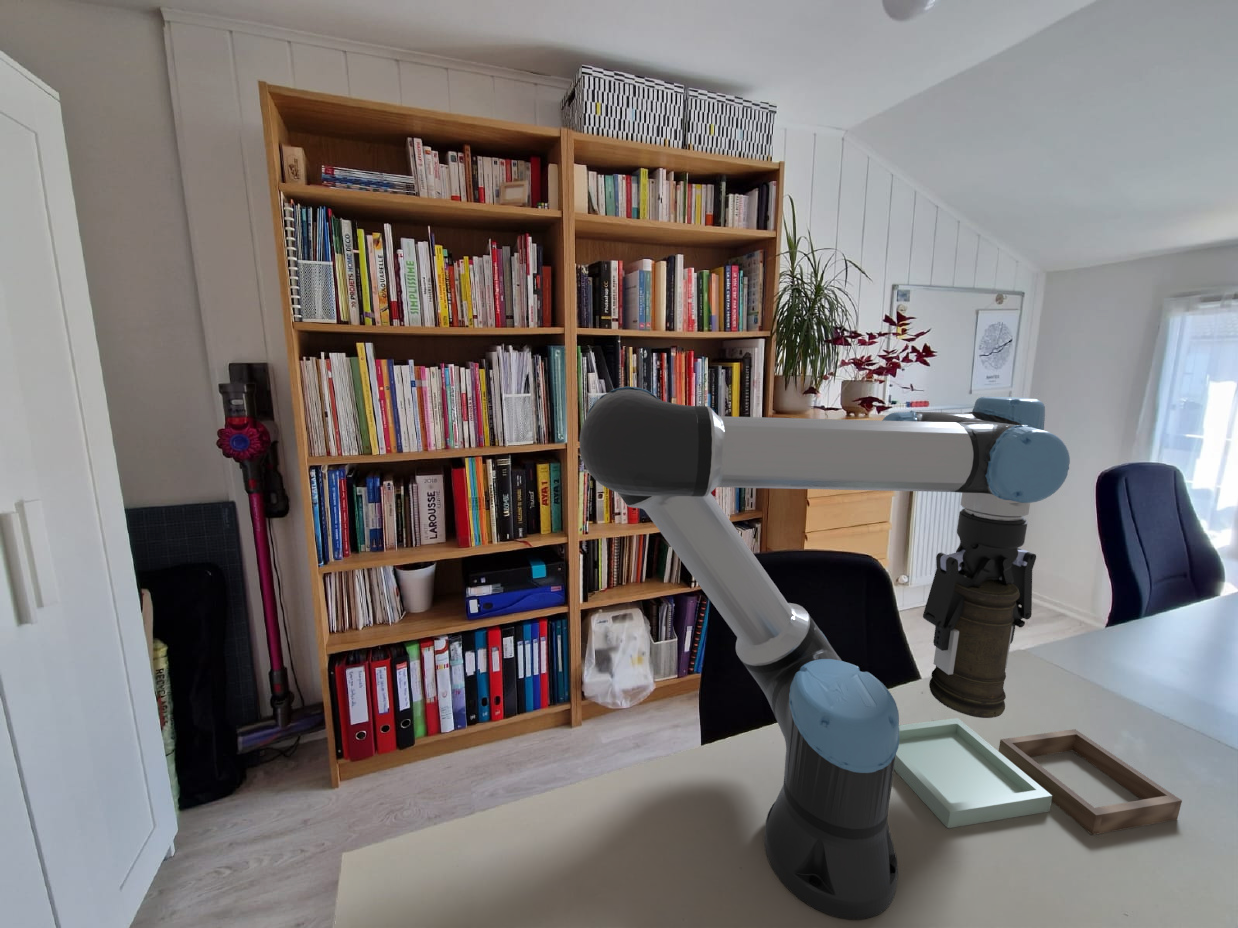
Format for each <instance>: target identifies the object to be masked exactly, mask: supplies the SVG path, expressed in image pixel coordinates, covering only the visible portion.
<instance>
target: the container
mask: <svg viewBox="0 0 1238 928" xmlns="http://www.w3.org/2000/svg"><path fill="white" fill-rule="evenodd" d="M965 576H966V577H967V578H969V579H973V578H972V577H970V576H968V575H967V574H966V573H965ZM954 591H955V592H957V593H959V594H961V595H964V596H965V597H966V600H964V603H965V604H964V605H965V607H964V611H963V613H962V614H961V616H960V618H959V620H958V622H957V624H956V626H955V627H954V628H955V629H956V630H958V631H959V637H958V644H957V650H956V657H955V664H954V670H953V674H950V675H948V674H947V673H945V672H944V671H943V670H941V669H940V668H938V667H937V666H936V665H935V668H934V669H932V672H931V678H930V680H929V683H928V684H929V685H928V687H929V691H930V694H931V695H932V696H933V698H935V700H937V701H938V702H939V703H941V705H944V706H945V707H946V708H949V709H951V710H953V711H954V712H957V713H960V714H963V715H966V716H970V717H974V718H978V719H979V718H980V719H992V718H998V717H1000V716H1001V715H1003V713H1004V712H1005V709H1006V702H1005V700H1006V698H1007V697H1006V691H1005V690H1004V686H1005V681H1006V678H1007V675H1006V674H1007V673H1006V668H1007V666H1006V659H1007V652H1008V646H1009V640H1010V634H1011V628H1012V623H1013V621H1014V619H1013V616H1012V615H1013V608H1014V606H1015V605H1016V600H1017V599H1018V598H1019V596H1020V593H1019V590H1018V588H1017V587H1016V586H1015V585H1014V584H1009V585H1007V586H1005V585H1003V584H1000V583H998V582H996V581H994V580H992V579H988V580H985V581H983V583H982V585H981V586H980V587H979V588H966V587H965V586H963V585H961V584H959V583H957V582H956V585H955V588H954ZM945 619H947V617H946V618H945ZM1005 667H1006V668H1005Z"/></svg>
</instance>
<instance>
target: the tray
mask: <svg viewBox="0 0 1238 928" xmlns="http://www.w3.org/2000/svg"><path fill="white" fill-rule="evenodd" d="M899 735H900V739H899V747H898V750H897V752H896V758H895V765H894V772H896V774H897V775H899V777H901V779H903V781H904V782H905V783H906V784H907V785H908V786H909V788H910V789H911V790H912V791H913V792H914V793H915V795H917V797H918V798H920V800H921V801H922V802H923V804H924V805H926V806H927V808H928V809H929V810H930V811H931V812H932V813H933V814H934V815H935V816H936V817H937V818H938V819H939V820H940V822H941V823H942V824H943V825H944V826H945V827H946V828H947V829H951V828H957V827H958V828H959V827H964V826H969V825H970V826H971V825H976V824H983V823H987V822H994V821H999V820H1007V819H1011V818H1017V817H1024V816H1029V815H1030V816H1031V815H1036V814H1041V813H1047V812H1050V810H1051V804H1052V801H1051V800H1052V795H1051V794H1050V793H1048V792H1047V791H1046V790H1045V789H1044V788H1042V787H1041V786H1040V785H1039V784H1038V783H1036V782H1035V781H1034V780H1033V779H1031V778H1030V777H1029V776H1028V775H1027V774H1025V773H1024V772H1023V771H1022V770H1020V769H1019V768H1018V767H1017V766H1016V765H1014V764H1013V763H1012V762H1011V761H1010V760H1008V759H1007V758H1006V757H1005V756H1003V755H1002V754H1001V753H1000V752H999V750H997V748H995V746H992V745H991V744H990V743H989V742H988V741H986V740H985V738H983V737H982V736H980V735H979V734H978V733H977V732H976V731H974V730H973V729H972V728H971V727H969V725H967V724H966V723H965V722H963V721H962V720H961V719H960V718H959V717H954V718H946V719H938V720H930V721H924V722H923V721H922V722H916V723H915V722H913V723H908V724H907V723H906V724H899Z"/></svg>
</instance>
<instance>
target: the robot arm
mask: <svg viewBox="0 0 1238 928" xmlns="http://www.w3.org/2000/svg"><path fill="white" fill-rule="evenodd" d="M1045 419H1046V406H1045V404H1044V402H1042V401H1041V400H1039V399H1037V398H1032V397H1018V396H1016V397H1015V396H1014V397H1012V396H980V397H978V398H977V399H976V400H975V403H974V406H973V408H972V410H971V411H969V412H944V411H943V412H942V411H941V412H939V411H938V412H937V411H915V410H909V411H902V412H901V411H899V412H896V411H895V412H892V413H889V414H887V415H886V416H884V418H883V419H882V420H878V419H877V420H876V419H875V420H873V419H871V420H870V419H840V418H838V419H835V418H803V417H802V418H800V417H799V418H798V417H796V418H795V417H761V416H724V415H723V416H722V415H718V414H717V413H716V412H715V411H714V410H713V408H711V407H710V406H707V405H706V406H705V405H687V404H686V405H685V404H679V403H673V402H670V401H669V402H668V401H664V400H661V399H660V398H659V397H657V396H656V395H655V394H654V393H652V392H650V391H649V390H648V389H644V388H641V387H637V386H622V387H617V388H614V389H611V390H610V391H609V392H607V393H604V394H602V395H601V396H600V397H599V398H598V399H597V400H596V401H594V402H593V404H592V405H591V406H590V407H589V410H588V411H587V414H586V417H585V419H584V420H583V423H582V426H581V428H580V433H579V453H580V456H581V459H582V462H583V465H584V466H585V468H586V470H587V472H588V473H589V475H590V476H592V478H593V479H594V480H595V481H597V483H598V484H599V485H601V486H603V487H605V488H607V489H608V490H610V491H612V492H615V493H617V495H619V497H620V498H621V499H622V500H623V502H624V504H625V505H626V506H627V507H629V508H634V509H642V510H643V511H645V513H646V515H647V516H648V517H649V518H650V520H651V521H652V522H653V525H655V527H656V528H657V529H658V531H659V532H660V534H661V535H662V537H664V539H665V540H666V542H667V543H668V544H669V546H670V548H671V549H672V550H673V551H674V553H675V554H676V555H677V557H678V558H679V559H680V561H681V562H682V564H683V565H684V566H685V568H686V569H687V571H688V572H689V573H690V574H691V576H692V577H693V580H695V581H696V583H697V584H698V585H699V587H700V588H701V590H702V591H703V592H704V593H705V595H706V597H707V598H708V599H709V600H710V602H711V603H712V604H713V606H714V607H715V608H716V610H717V611H718V613H719V614H720V615H721V617H722V618H723V620H724V621H725V622H726V624H727V625H728V627H729V628H730V630H731V631H732V632H733V633H734V635H735V636H736V642H735V652H736V655H737V656H738V659H739V660H740V661H741V662H742V664H743V665H744V667H745V668H746V669H747V671H748V672H749V674H750V675H751V676H752V678H753V679H754V680H755V681H756V683H757V684H758V686H759V688H760V689H761V690H762V692H763V693H764V695H765V697H766V699H767V701H768V704H769V705H770V708H771V710H772V713H773V715H774V717H775V721H776V722H777V724H778V726H779V728H780V731H781V734H782V736H783V737H784V742H785V759H784V772H783V785H782V786H781V789H780V791H779V793H778V795H777V797H776V799H775V801H774V803H773V804H772V805H771V806H770V809H769V811H768V812H767V815H766V820H765V825H764V840H763V842H764V850H765V854H766V857H767V860H768V862H769V864H770V866H771V869H772V870H773V872H774V873H775V875H776V877H778V879H779V881H780V882H781V883H782V884H783V885H784V886H785V887H786V888H787V890H789V892H791V894H793V895H794V896H796V897H797V898H798V899H799V900H800V901H802V902H803V903H804V904H806V905H808V906H810V907H812V908H813V909H815V910H817V911H819V912H821V913H824V914H827V915H829V916H832V917H835V918H840V919H845V920H864V919H865V920H866V919H869V918H872V917H876V916H878V915H879V914H881V913H882V912H884V911H886V910H887V908H888V907H889V906H890V905H891V904H892V902H893V899H894V898H895V894H896V889H897V883H898V873H899V870H898V868H899V866H898V859H897V855H896V850H895V847H894V843H893V839H892V835H891V834H892V833H891V832H890V828H889V824H888V816H889V809H890V808H889V807H890V800H891V793H892V785H893V780H894V772H895V770H894V765H895V758H896V752H897V750H898V747H899V739H900V735H899V725H900V715H899V709H898V705H897V702H896V699H894V697H893V695H892V693H891V691H890V690H889V689H888V688H887V687H886V685H884V683H883V682H882V681H880V680H879V679H878V678H877V677H875V675H873V674H872V673H870V672H869V671H861V670H860V667H859V666H858V665H855V664H853V663H850V662H846V661H843V660H842V659H841V657H840V656H839V655H838V654H837V652H836V651H835V649H834V648H833V646H832V645H831V644H830V642H829V640H828V639H827V636H825V634H824V633H823V631H822V630H821V629H820V628H819V627H818V625H817V624H816V622H815V621H814V619H813V617H811V616H810V614H809V613H808V611H807V610H806V609H805V608H804V607H803V606H802V605H800V604H797V603H791V602H788V601H787V600H786V598H785V596H784V595H783V594H782V593H781V592H780V590H779V588H778V587H777V585H776V583H774V581H773V580H772V579H771V577H770V575H769V574H768V572H767V571H766V570H765V569H764V567H763V566H762V564H761V563H760V561H759V560H758V558H757V557H756V556H755V554H754V553H753V551H752V550H751V549H750V547H749V546H748V544H747V543H746V541H745V540H744V538H743V537H742V535H741V534H740V533H739V531H738V530H737V528H736V527H735V525H734V524H733V523H732V521H731V520H730V519H729V517H728V516H727V513H725V512H724V511H725V510H724V509H723V508H722V507H721V506H720V504H719V503H718V501H717V500H716V499H715V497H714V496H713V494H712V492H713V491H714V490H715V489H716V488H736V489H737V488H739V489H740V488H741V489H742V488H745V489H746V488H747V489H787V490H788V489H789V490H790V489H791V490H792V489H793V490H795V489H796V490H835V491H837V490H839V491H840V490H841V491H842V490H843V491H846V490H847V491H880V492H881V491H883V492H885V491H887V492H889V491H890V492H891V491H892V492H933V493H934V492H935V493H937V492H939V493H941V492H943V493H961V498H960V506H961V507H962V508H963V509H961V510H959V512H958V513H959V514H958V521H957V527H956V534H957V536H958V538H959V541H960V542H959V545H958V547H957V549H956V551H955V552H953V553H949V554H945V553H944V552H939V553H937V554H936V557H935V558H936V559H935V563H936V567H935V568H936V570H935V573H934V577H933V580H932V583H931V587H930V590H929V594H928V597H927V600H926V604H925V607H924V610H923V614H922V618H923V619H924V620H926V621H927V622H928V623H930V624H931V625H933V626H934V627H935V628H934V634H933V635H934V636H933V642H932V643H933V645H934V647H935V650H934V658H933V663H932V664H933V665H934V666H935V667H936V666H937V667H938V668H940V669H941V670H943V671H944V672H945V673H947V674H948V675H950V674H953V670H954V664H955V657H956V650H957V644H958V637H959V631H958V630H956V629H955V628H954V627H955V626H956V624H957V622H958V620H959V618H960V616H961V614H962V613H963V611H964V607H965V605H964V604H965V603H964V600H966V597H965V596H964V595H961V594H959V593H957V592H955V591H954V588H955V585H956V582H957V583H959V584H961V585H963V586H965V587H966V588H979V587H980V586H981V585H982V583H983V581H985V580H988V579H992V580H994V581H996V582H998V583H1000V584H1003V585H1005V586H1007V585H1009V584H1014V585H1015V586H1016V587H1017V588H1018V590H1019V593H1020V596H1019V598H1018V599H1017V600H1016V605H1015V606H1014V608H1013V615H1012V616H1013V619H1014V621H1013V623H1012V628H1011V634H1010V640H1009V646H1008V652H1007V659H1006V667H1005V669H1007V665H1008V659H1009V654H1010V649H1011V648H1010V647H1011V644H1012V643H1013V641H1014V636H1015V631H1016V627H1017V628H1023V627H1024V626H1025V625H1026V621H1025V620H1030V619H1031V618H1032V612H1033V611H1032V610H1033V606H1032V605H1033V603H1032V602H1033V569H1034V566H1035V563H1036V559H1037V554H1036V553H1033V552H1031V551H1028V550H1025V549H1022V548H1021V547H1022V546H1023V545H1024V544H1025V540H1026V534H1027V530H1028V529H1027V528H1028V522H1029V521H1028V520H1027V519H1026V516H1028V515H1029V513H1030V506H1031V504H1032V503H1037V502H1040V501H1044V500H1045V499H1047V498H1049V497H1051V496H1052V495H1054V494H1055V493H1056V492H1057V491H1058V490H1059V489H1060V488H1061V487H1062V486H1063V485H1064V483H1065V481H1066V479H1067V476H1068V473H1069V470H1070V464H1071V458H1070V453H1069V450H1068V447H1067V445H1066V443H1064V441H1063V440H1062V439H1061V438H1060V437H1059V436H1057V435H1056V434H1054V433H1052V432H1050V431H1047V430H1045ZM965 573H966V574H967V575H968V576H970V577H972V578H973V579H969V578H967V577H966V576H965ZM946 617H947V619H945V618H946ZM1023 619H1024V620H1023Z"/></svg>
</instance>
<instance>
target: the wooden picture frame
mask: <svg viewBox="0 0 1238 928" xmlns="http://www.w3.org/2000/svg"><path fill="white" fill-rule="evenodd" d="M998 745H999V746H998V751H999V752H1000V753H1001V754H1002V755H1003V756H1005V757H1006V758H1007V759H1008V760H1010V761H1011V762H1012V763H1013V764H1014V765H1016V766H1017V767H1018V768H1019V769H1020V770H1022V771H1023V772H1024V773H1025V774H1027V775H1028V776H1029V777H1030V778H1031V779H1033V780H1034V781H1035V782H1036V783H1038V784H1039V785H1040V786H1041V787H1042V788H1044V789H1045V790H1046V791H1047V792H1048V793H1050V794H1051V795H1052V800H1051V803H1053V804H1054V805H1056V806H1057V807H1058V808H1059V809H1060V810H1061V811H1063V812H1064V813H1065V814H1066V815H1067V816H1069V817H1070V819H1072V820H1074V821H1075V822H1076V823H1077V824H1078V825H1080V826H1081V827H1082V828H1083V829H1084V830H1086V831H1087V832H1088V833H1089V834H1090V835H1092V836H1093V835H1098V834H1099V835H1100V834H1104V833H1109V832H1115V831H1120V830H1127V829H1131V828H1137V827H1143V826H1148V825H1154V824H1155V825H1156V824H1161V823H1166V822H1170V821H1176V820H1178V818H1179V814H1180V809H1181V806H1182V803H1183V800H1182V799H1181V798H1179V797H1178V796H1176V795H1175V794H1173V793H1172V792H1170V791H1169V790H1167V789H1165V788H1164V787H1162V786H1161V785H1160V784H1158V783H1157V782H1155V781H1154V780H1152V779H1151V778H1149V777H1148V776H1146V775H1145V774H1144V773H1142V772H1141V771H1138V770H1137V769H1135V768H1134V767H1133V766H1131V765H1129V764H1128V763H1126V762H1125V761H1123V759H1121V758H1119V757H1117V756H1116V755H1115V754H1113V753H1112V752H1110V751H1108V749H1106V748H1105V747H1103V746H1101V745H1100V744H1098V743H1097V742H1096V741H1094V740H1092V739H1091V738H1089V737H1087V735H1084V734H1083V733H1082V732H1080V731H1079V730H1077V729H1076V728H1075V729H1074V728H1073V729H1066V730H1060V731H1059V730H1058V731H1053V732H1052V731H1051V732H1044V733H1038V734H1030V735H1021V736H1014V737H1007V738H1000V739H999V744H998ZM1068 752H1074V753H1076V755H1078V756H1080V757H1081V758H1082V759H1084V760H1085V761H1087V762H1088V763H1090V765H1092V766H1094V767H1095V768H1097V769H1098V770H1100V771H1101V772H1102V773H1104V774H1105V775H1106V776H1108V778H1110V779H1112V780H1114V781H1115V782H1116V783H1117V784H1119V785H1120V786H1122V787H1123V788H1124V789H1126V790H1127V791H1129V792H1130V793H1132V794H1133V795H1134V796H1136V797H1138V799H1139V800H1133V801H1127V802H1122V803H1114V804H1109V805H1104V806H1103V805H1102V806H1097V807H1094V806H1093V805H1091V804H1090V803H1089V802H1088V801H1087V800H1085V799H1084V798H1082V797H1081V796H1080V795H1079V794H1078V793H1076V792H1075V791H1074V790H1072V789H1071V788H1070V787H1068V786H1067V785H1066V784H1065V783H1064V782H1062V781H1061V780H1060V779H1058V778H1057V777H1056V776H1055V775H1054V774H1052V773H1051V772H1050V771H1048V770H1047V769H1046V768H1044V767H1043V766H1042V765H1040V764H1039V763H1038V762H1037V761H1035V760H1034V759H1033V758H1034V757H1039V756H1046V755H1054V754H1058V753H1059V754H1060V753H1068ZM1032 757H1033V758H1032Z"/></svg>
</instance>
